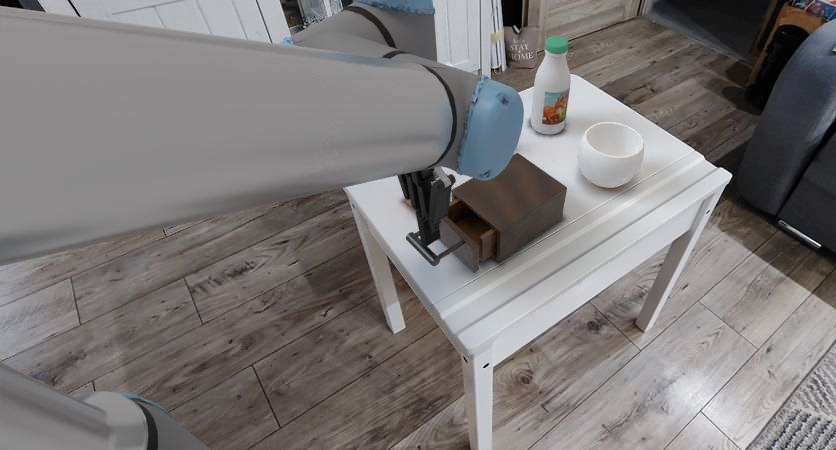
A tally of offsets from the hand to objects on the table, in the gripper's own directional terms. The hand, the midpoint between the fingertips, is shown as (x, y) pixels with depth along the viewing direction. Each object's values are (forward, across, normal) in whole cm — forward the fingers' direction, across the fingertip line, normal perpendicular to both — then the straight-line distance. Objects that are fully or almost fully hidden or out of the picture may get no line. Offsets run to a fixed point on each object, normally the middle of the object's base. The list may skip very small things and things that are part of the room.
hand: (430, 239), depth 71 cm
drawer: (+7, 0, -8) cm, 10 cm away
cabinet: (+8, 0, -17) cm, 18 cm away
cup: (+8, -4, -40) cm, 41 cm away
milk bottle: (+8, +16, -44) cm, 47 cm away
